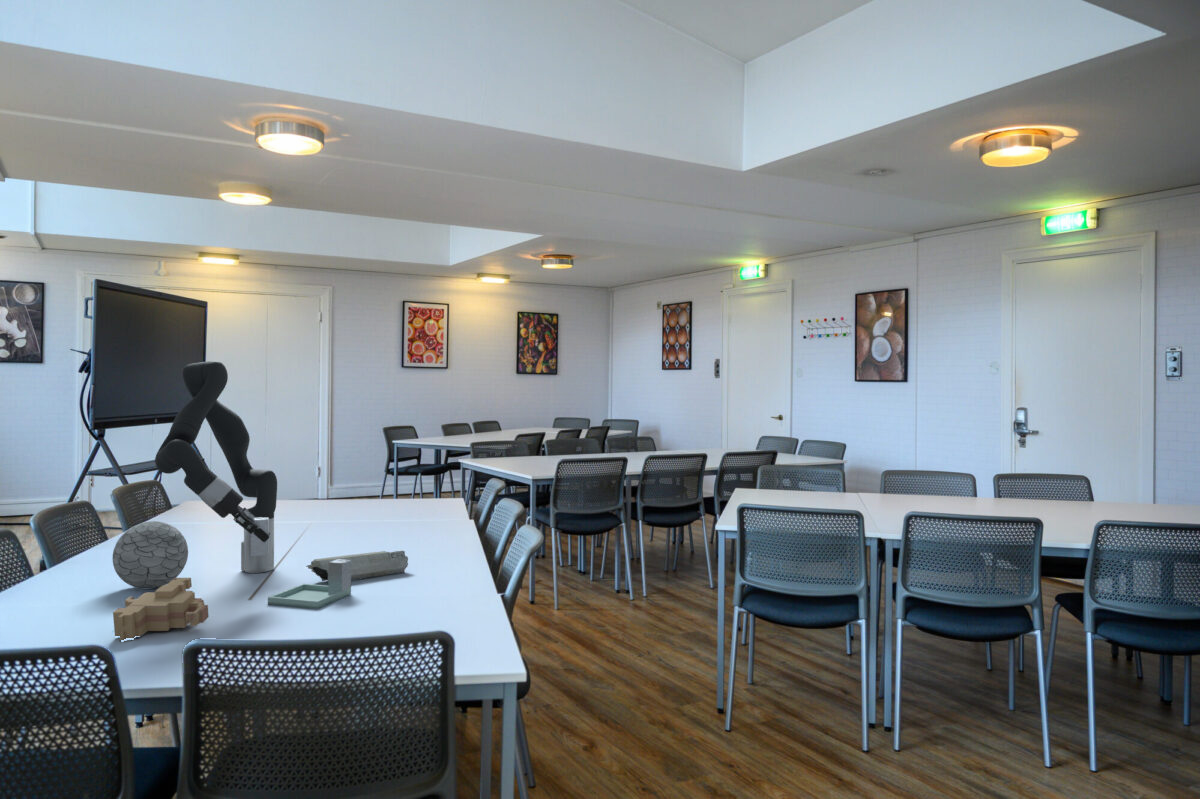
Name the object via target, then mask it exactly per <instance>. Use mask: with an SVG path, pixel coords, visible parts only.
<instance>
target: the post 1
mask: <svg viewBox="0 0 1200 799" xmlns="http://www.w3.org/2000/svg"><path fill="white" fill-rule="evenodd" d="M253 519H254V520H255V523H256V524H257V525H258V526H259V527H260V528H261V529H262V530H263V531H264V532H265V533H267V534H268V535H269V517H259V518H253ZM252 527H253V525H251V528H252ZM260 528H259V529H260ZM268 546H269V539H268V540H267V541H266V542H263V541H261V540H260V539H259V538H258V537H257V536H256V535H254V534H251V556H259V555H268Z"/></svg>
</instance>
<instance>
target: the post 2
mask: <svg viewBox="0 0 1200 799" xmlns="http://www.w3.org/2000/svg"><path fill="white" fill-rule="evenodd" d="M327 582H328V585H327V586H328V595H332V594H334V593H336V592H339V591H344V590H346V589H349V588H350V593H351V594H352V580H351V560H343V559H337V560H334V561H331V562H329V580H328V581H327Z"/></svg>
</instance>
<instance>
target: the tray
mask: <svg viewBox="0 0 1200 799" xmlns="http://www.w3.org/2000/svg"><path fill="white" fill-rule="evenodd" d="M349 594H351V595H352V592H351V593H350V588H349V589H346V590H344V591H339V592H336V593H334V594H332V595H328V585H324V584H313V583H301V584H299V585H296V586H294V587H291V588H289V589H286V590H283V591H281V592H278V593H276V594H273V595H270V596H268V597H267V605H273V606H283V607H293V608H302V609H315V610H319V609H320V608H323V607H325V605H326V606H328V605H331V604H332V603H334V602H337V601H340V600H341V599H343V597H344V598H345V596H346V597H348V596H350V595H349ZM347 595H348V596H347Z"/></svg>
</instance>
